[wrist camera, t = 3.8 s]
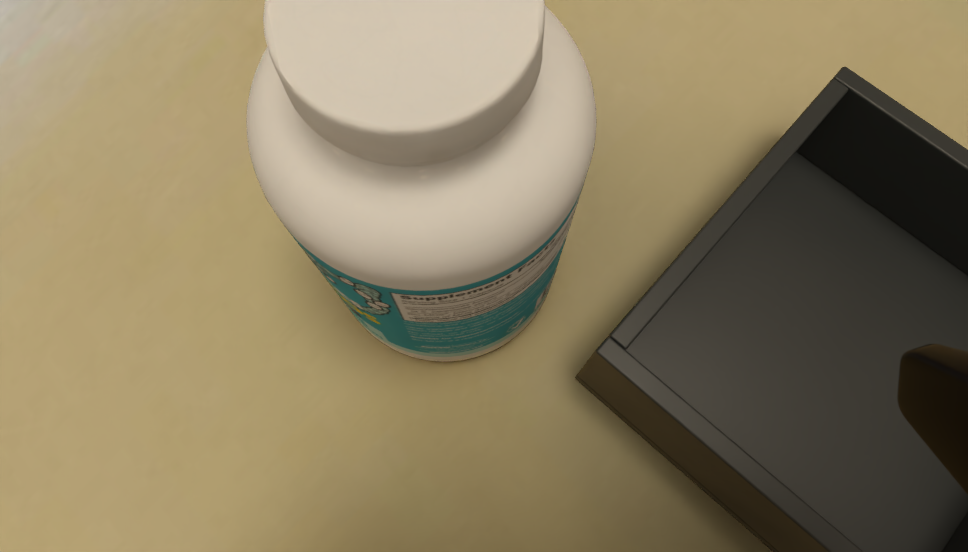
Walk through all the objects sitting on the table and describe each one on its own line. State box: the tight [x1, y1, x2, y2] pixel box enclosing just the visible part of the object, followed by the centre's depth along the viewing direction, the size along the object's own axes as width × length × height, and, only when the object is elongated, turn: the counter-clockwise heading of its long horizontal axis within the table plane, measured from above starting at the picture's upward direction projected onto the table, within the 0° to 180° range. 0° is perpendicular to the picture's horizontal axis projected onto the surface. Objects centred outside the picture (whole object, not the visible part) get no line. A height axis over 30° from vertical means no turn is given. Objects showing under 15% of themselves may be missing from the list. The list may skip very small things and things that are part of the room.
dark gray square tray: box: [576, 67, 968, 552], centre depth 21 cm, size 12×12×4 cm
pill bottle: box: [247, 0, 596, 362], centre depth 18 cm, size 8×7×14 cm
